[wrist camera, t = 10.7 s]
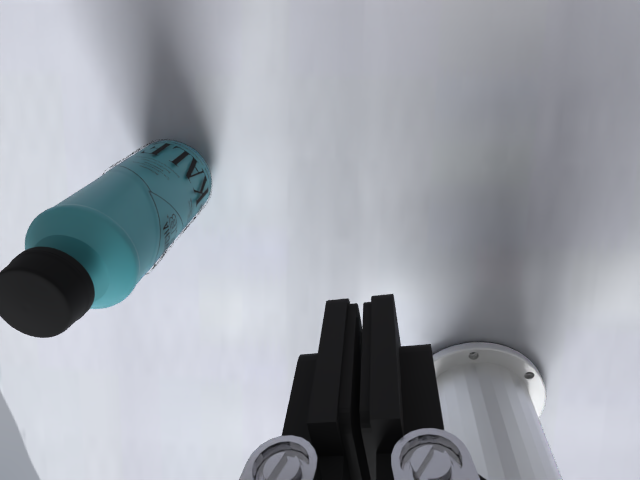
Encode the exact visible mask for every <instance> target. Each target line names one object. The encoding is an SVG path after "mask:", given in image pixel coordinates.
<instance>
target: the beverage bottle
mask: <svg viewBox="0 0 640 480" xmlns="http://www.w3.org/2000/svg"><path fill="white" fill-rule="evenodd" d="M161 140H163V141H158V142H155V143H152V142H151V143H152V144H150V143H149V144H150V145H149V146H147V145H148V144H147V145H146V146H147V147H145V148H144V149H142V148H141V149H142V150H141V151H139V149H138V151H139V152H137V151H136V152H137V153H136V154H134V152H133V153H131V154H130V155H132V154H134V155H133V156H131V157H129V156H130V155H129V156H128V157H129V158H128V159H127V157H126V158H125V159H126V160H125V161H123V162H121V161H120V162H121V163H120V164H118V165H117V166H116V164H117V163H118V162H119V161H118V162H117V163H116V164H115V167H114V166H113V168H112V169H110V170H109V171H108V172H106V173H105V174H104V173H103V174H104V175H103V176H101V177H99V178H98V179H96V180H95V181H93V182H92V183H90V184H89V185H87V186H85V187H84V188H82V189H81V190H79V191H78V192H76V193H75V194H73V195H71V196H70V197H68V198H67V199H65V200H64V201H62V202H61V203H59V204H57V205H56V206H54V207H52V208H50V209H47V210H45V211H44V212H42V213H41V214H39V215H38V216H37V217H36V218H35V219H34V220H33V222H32V223H31V225H30V227H29V229H28V231H27V234H26V238H25V251H23V252H22V253H20V254H19V255H18V256H16V257H15V258H14V259H13V260H12V261H11V262H10V264H9V265H8V266H7V267H5V268H4V269H3V270H2V271H1V272H0V316H1V317H2V318H3V319H4V320H5V321H6V322H7V323H8V324H9V325H10V326H12V327H13V328H15V329H16V330H18V331H20V332H22V333H24V334H27V335H30V336H34V337H40V338H46V337H53V336H56V335H59V334H60V333H62V332H64V331H65V330H67V329H68V328H69V327H70V326H71V325H72V324H73V323H74V322H75V321H77V320H78V319H80V318H81V317H82V316H83V315H84V314H85V313H86V312H87V311H88V310H89V309H100V308H107V307H110V306H113V305H115V304H117V303H120V302H121V301H123V300H124V299H125V298H126V297H127V296H128V295H129V294H130V293H131V292H132V291H133V289H134V288H135V286H136V284H137V283H138V282H139V281H140V279H141V278H142V277H143V276H144V275H145V274H146V273H147V272H148V271H149V270H150V268H151V267H152V266H153V265H154V267H155V262H156V261H157V260H158V259H159V258H160V257H161V258H163V256H164V254H163V253H164V252H165V251H167V250H166V249H168V247H171V246H170V245H171V244H172V243H174V240H175V239H176V237H177V236H178V235H179V234H180V233H182V232H181V231H182V230H183V229H184V228H185V227H186V226H187V224H188V223H189V222H190V221H192V222H193V221H194V220H192V218H193V217H194V216H196V214H197V212H198V211H202V210H200V209H201V208H202V206H203V205H204V204H205V202H206V201H207V199H208V197H210V191H211V180H212V179H211V174H210V171H209V168H208V166H207V164H206V162H205V161H204V159H203V158H202V157H201V155H200V154H199V153H198V152H197V151H195V150H194V149H193V148H191V147H190V146H188V145H186V144H183V143H181V142H178V141H174V140H173V141H169V140H168V139H161ZM155 141H156V140H155ZM123 160H124V159H123ZM111 167H112V166H111ZM104 172H105V171H104ZM211 192H212V191H211ZM207 202H208V201H207ZM206 204H207V203H206ZM205 206H206V205H205ZM203 208H204V207H203ZM199 213H200V212H199ZM197 216H198V215H197ZM194 219H195V217H194ZM192 222H190V224H191V223H192ZM190 224H189V225H190ZM189 225H188V226H189ZM186 228H187V227H186ZM185 230H186V229H185ZM185 230H184V231H185ZM183 233H184V232H183ZM183 233H182V234H183ZM178 238H179V237H178ZM169 250H170V249H169ZM162 254H163V255H162ZM161 255H162V256H161ZM160 261H161V260H160ZM160 261H159V262H160ZM156 264H158V262H157V263H156ZM154 267H153V268H152V269H154ZM147 274H148V273H147Z"/></svg>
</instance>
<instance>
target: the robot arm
mask: <svg viewBox="0 0 640 480" xmlns="http://www.w3.org/2000/svg"><path fill="white" fill-rule="evenodd" d="M545 402H546V389H545V385H544V382H543V380H542V377H541V375H540V373H539V371H538V370H537V368H536V366H535V365H534V364H533V363H532V362H531V361H530V360H529V359H528V358H527V357H525V356H524V355H522V354H521V353H520V352H518V351H516V350H513V349H511V348H509V347H506V346H502V345H499V344H495V343H485V342H473V343H464V344H459V345H454V346H451V347H448V348H446V349H443V350H441V351H439V352H437V353H435V354H434V355H432V349H431V344H426V345H414V346H401V344H400V337H399V330H398V323H397V316H396V308H395V301H394V295H393V294H388V295H378V296H372V297H371V302H365V303H364V304H363V329H362V324H361V319H360V313H359V308H358V304H357V303H355V304H350V301H349V299H338V300H328V301H326V306H325V312H324V319H323V325H322V331H321V337H320V344H319V350H318V353H315V354H303V355H300V356H299V359H298V362H297V367H296V371H295V376H294V381H293V385H292V390H291V395H290V400H289V404H288V409H287V414H286V418H285V423H284V428H283V432H282V436H279V437H276V438H273V439H270V440H268V441H267V442H265V443H263V444H262V445H260V446H259V447H258V448H257V449H256V450H255V451H254V452H253V453H252V454H251V456H250V458H249V459H248V461H247V463H246V465H245V467H244V469H243V472H242V474H241V476H240V479H239V480H563V479H562V477H561V474H560V472H559V469H558V466H557V464H556V461H555V459H554V456H553V454H552V451H551V448H550V446H549V443H548V441H547V438H546V435H545V433H544V430H543V428H542V425H541V423H540V420H539V417H540V416H541V414H542V412H543V410H544V407H545Z"/></svg>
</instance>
